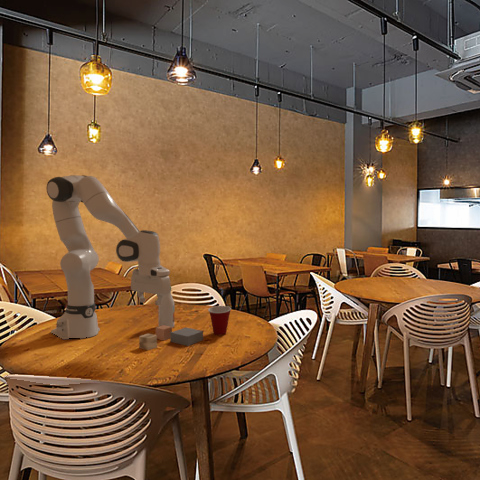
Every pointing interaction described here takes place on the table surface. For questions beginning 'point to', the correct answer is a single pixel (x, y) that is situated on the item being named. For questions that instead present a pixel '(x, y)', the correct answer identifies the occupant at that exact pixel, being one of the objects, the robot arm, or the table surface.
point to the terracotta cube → (163, 332)
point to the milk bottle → (166, 311)
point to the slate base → (186, 336)
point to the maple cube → (148, 341)
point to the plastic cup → (219, 319)
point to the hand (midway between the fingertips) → (150, 303)
